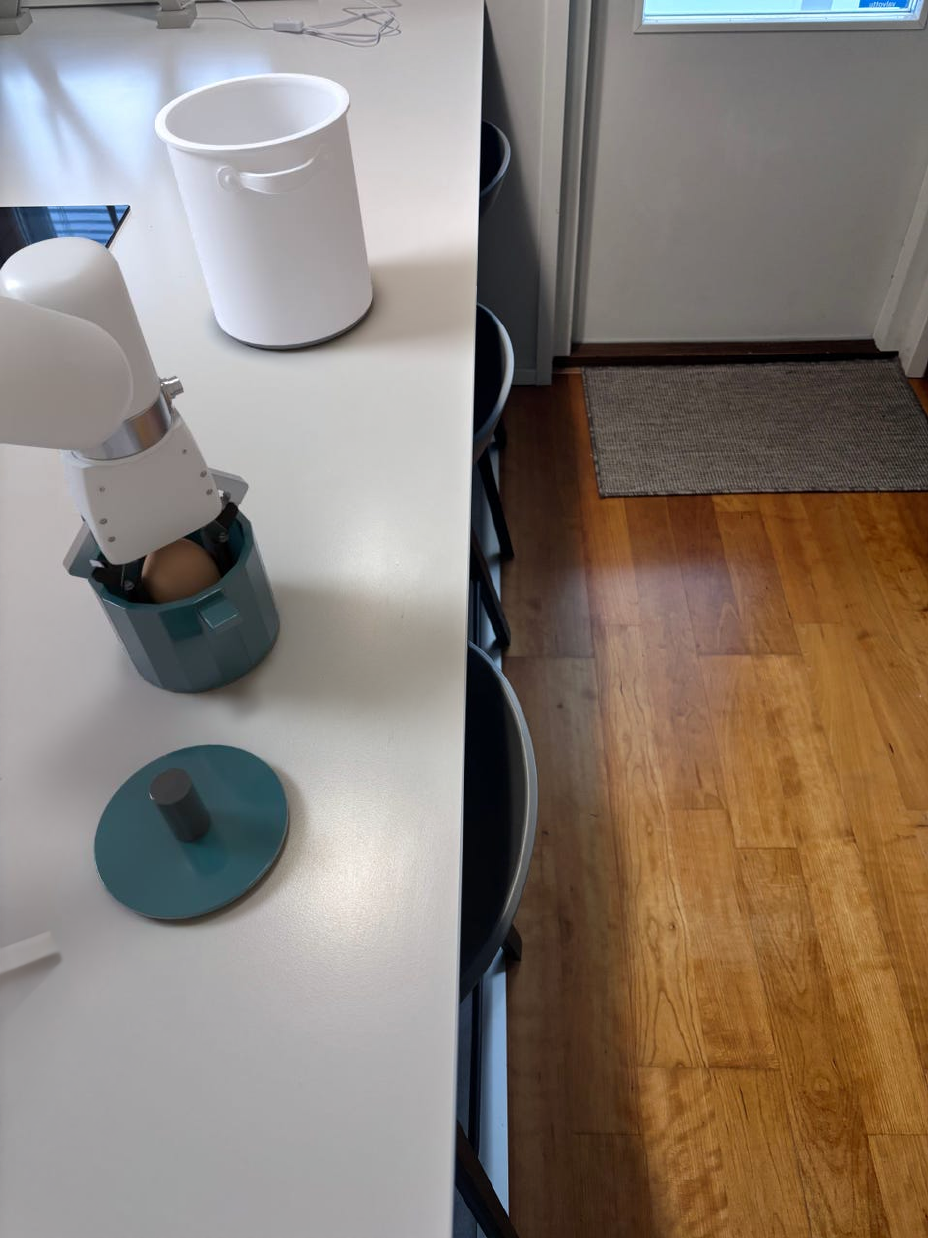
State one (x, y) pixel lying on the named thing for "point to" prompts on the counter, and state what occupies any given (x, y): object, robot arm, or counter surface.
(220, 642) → the saucepan
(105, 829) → the saucepan lid
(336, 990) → the counter surface
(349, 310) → the bucket
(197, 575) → the egg
